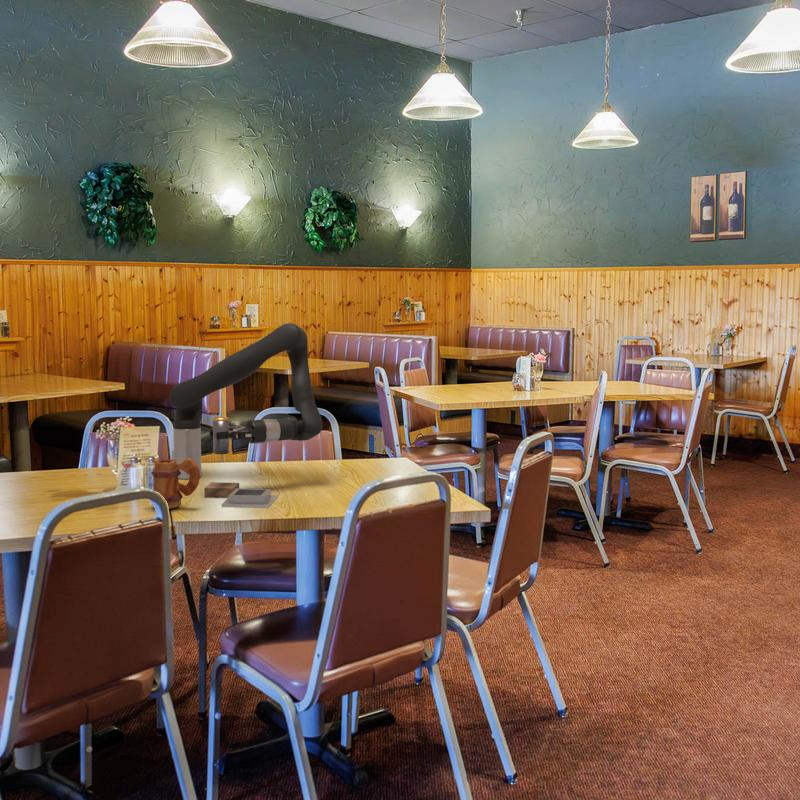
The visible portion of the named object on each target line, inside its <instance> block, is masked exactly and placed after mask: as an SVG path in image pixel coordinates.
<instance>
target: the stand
mask: <svg viewBox="0 0 800 800" xmlns="http://www.w3.org/2000/svg"><path fill="white" fill-rule="evenodd" d="M235 489H240V482H225V481H223V482H219V481H218V482H217V481H215V482H214V481H212V482H210V483H208V484H207V485H206V486H205V487H204V489H203V490H204V498H213V499H214V498H217V499H218V498H219V499H221V498H222V499H228V496H229V495H230V494H231V493H232V492H233V491H234V490H235Z"/></svg>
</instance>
